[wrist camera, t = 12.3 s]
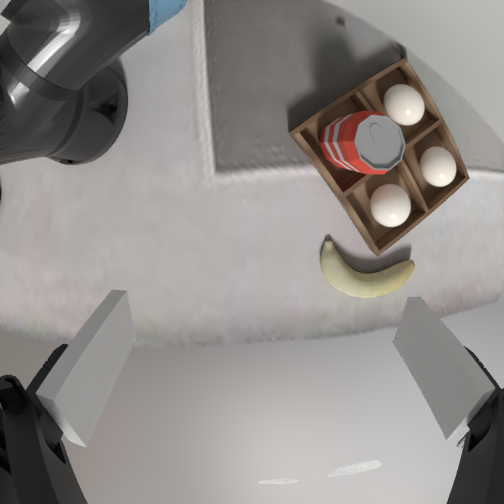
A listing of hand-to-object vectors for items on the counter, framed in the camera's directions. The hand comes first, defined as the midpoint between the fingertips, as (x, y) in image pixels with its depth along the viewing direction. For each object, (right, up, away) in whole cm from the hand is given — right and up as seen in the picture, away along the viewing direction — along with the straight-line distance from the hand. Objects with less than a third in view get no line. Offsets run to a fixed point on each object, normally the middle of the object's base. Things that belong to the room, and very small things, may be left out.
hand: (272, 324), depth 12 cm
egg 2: (+17, +10, +23) cm, 30 cm away
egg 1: (+18, +23, +18) cm, 34 cm away
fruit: (+16, +1, +27) cm, 32 cm away
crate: (+18, +17, +21) cm, 32 cm away
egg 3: (+24, +16, +21) cm, 36 cm away
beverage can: (+11, +17, +21) cm, 29 cm away
